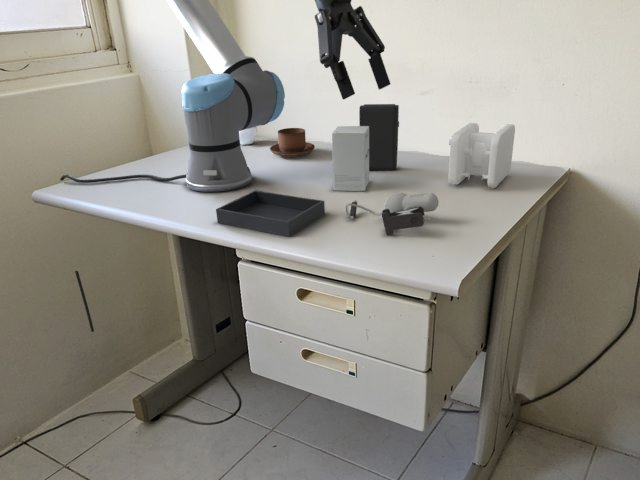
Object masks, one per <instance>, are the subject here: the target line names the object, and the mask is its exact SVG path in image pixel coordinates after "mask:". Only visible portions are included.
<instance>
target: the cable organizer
mask: <svg viewBox="0 0 640 480" xmlns="http://www.w3.org/2000/svg"><path fill="white" fill-rule="evenodd" d="M515 134H516V126H515V124H509V123H508V124H505V126H503V127H501V128H500V129H499V130H498V131H497V132H496V133H493V132H490V133H489V132H481V131H480V126H479V123H477V122H469V123H467V124H466V125H465V126H463V127H461V128H460V129H458V130H457V131H456V132H454V133H453V135H451V138H449V140H448V145H449V147H450V148H449V149H450V150H449V162H448V176H447V177H448V180H447V181H448V184H452V185H455V186H457V185H459V184H460V183H461V182H462V181H463V180H465V179H466V178H467V180H470V177H471V176H476V177H477V176H479V177H481V181H484V180H487V183H486V184H487V187H489V188H491V189H496V188H497V187H498V186H499V185H500V183H502V181H504V180H505V179H506V177H507V176H508V175H509V174H510V171H511V168H512V161H513V153H514V152H513V151H514V144H515Z"/></svg>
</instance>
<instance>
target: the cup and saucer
mask: <svg viewBox="0 0 640 480" xmlns="http://www.w3.org/2000/svg"><path fill="white" fill-rule="evenodd" d="M306 139H307V138H306V129H305V128H302V127H287V128H282V129H279V130H277V141H278V143H276V144H273V145H272V146H270V148H269V149H270V152H272V154H274V155H276V156H279V157H287V158H294V157H301V156H305V155H308V154H310V153H311V152H313V151H314V150H315V148H316V147H315V144H314V143H311V142H307V141H306Z"/></svg>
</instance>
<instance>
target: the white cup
mask: <svg viewBox="0 0 640 480" xmlns="http://www.w3.org/2000/svg"><path fill="white" fill-rule="evenodd" d="M257 134H258V126H256V127H252V128H249V129H245V130H242V131H239V138H240V146H245V145H252V144H253V143H254V142H255V139H256V136H257Z"/></svg>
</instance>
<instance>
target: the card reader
mask: <svg viewBox="0 0 640 480" xmlns="http://www.w3.org/2000/svg"><path fill="white" fill-rule="evenodd" d="M399 106H400V105H399V104H395V103H376V104H375V103H372V104H371V103H368V104H366V103H365V104H363V105H360V106H359V113H358V114H359V120H358V121H359V123H358V124H359V126H369V171H393V170H397V168H398V151H399V149H398V148H399V128H400V121H399V118H400V117H399V116H400V115H399V111H400V107H399Z"/></svg>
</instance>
